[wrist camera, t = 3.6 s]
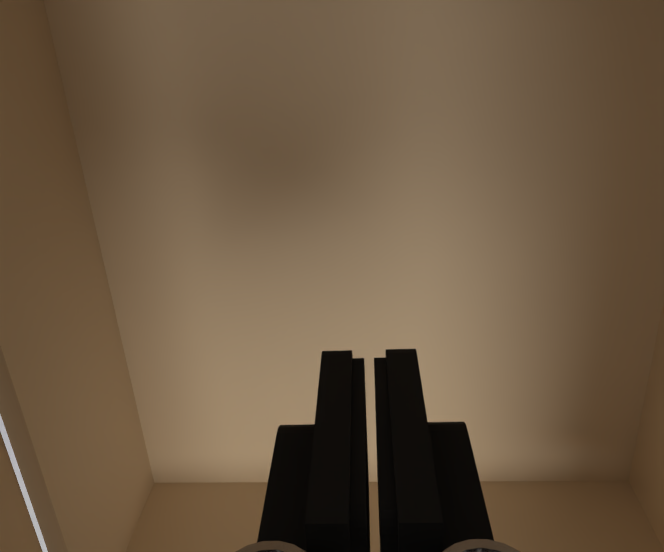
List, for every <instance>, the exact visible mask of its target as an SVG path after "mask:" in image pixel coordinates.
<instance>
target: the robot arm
mask: <svg viewBox="0 0 664 552" xmlns="http://www.w3.org/2000/svg"><path fill="white" fill-rule="evenodd" d="M385 355H386V357H384V358H374V377H375V411H376V445H377V479H378V507H379V534H380V552H520V551H519V550H517V549H515V548H513V547H511V546H509V545H507V544H505V543H501V542H497V541H494V538H493V533H492V529H491V525H490V521H489V517H488V513H487V509H486V504H485V500H484V496H483V492H482V488H481V484H480V479H479V475H478V471H477V467H476V463H475V459H474V455H473V450H472V446H471V442H470V438H469V434H468V430H467V427H466V424H465V422H427V415H426V409H425V402H424V396H423V390H422V383H421V377H420V370H419V364H418V357H417V351H416V349H386V354H385ZM236 552H370V511H369V472H368V445H367V418H366V391H365V365H364V358H353V355H352V350H342V351H322V354H321V364H320V374H319V384H318V395H317V405H316V415H315V424H306V425H279V427H278V430H277V434H276V440H275V445H274V451H273V456H272V462H271V467H270V473H269V478H268V484H267V490H266V495H265V501H264V506H263V512H262V517H261V523H260V528H259V534H258V539H257V543H254V544H250V545H247V546H245V547H243V548H241V549H239V550H238V551H236Z"/></svg>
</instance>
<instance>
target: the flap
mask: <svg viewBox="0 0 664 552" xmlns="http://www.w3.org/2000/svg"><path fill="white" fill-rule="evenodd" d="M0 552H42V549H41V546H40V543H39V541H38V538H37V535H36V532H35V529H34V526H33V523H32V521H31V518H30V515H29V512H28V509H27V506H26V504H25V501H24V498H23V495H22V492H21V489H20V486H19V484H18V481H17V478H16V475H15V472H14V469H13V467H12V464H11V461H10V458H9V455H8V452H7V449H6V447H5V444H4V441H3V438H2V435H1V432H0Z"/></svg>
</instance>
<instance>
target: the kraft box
mask: <svg viewBox="0 0 664 552" xmlns="http://www.w3.org/2000/svg"><path fill="white" fill-rule="evenodd" d="M386 349H416V351H417V357H418V364H419V370H420V377H421V383H422V390H423V396H424V402H425V409H426V415H427V422H465V424H466V427H467V430H468V434H469V438H470V442H471V446H472V450H473V455H474V459H475V463H476V467H477V471H478V475H479V479H480V484H481V488H482V492H483V496H484V500H485V504H486V509H487V513H488V517H489V521H490V525H491V529H492V533H493V538H494V541H497V542H501V543H505V544H507V545H509V546H511V547H513V548H515V549H517V550H519V551H520V552H664V0H0V414H1V417H2V419H3V422H4V425H5V428H6V431H7V434H8V437H9V440H10V443H11V445H12V448H13V451H14V454H15V457H16V460H17V463H18V466H19V469H20V472H21V474H22V477H23V480H24V483H25V486H26V489H27V492H28V495H29V498H30V500H31V503H32V506H33V509H34V512H35V515H36V518H37V521H38V524H39V526H40V529H41V532H42V535H43V538H44V541H45V544H46V547H47V550H48V552H236V551H238V550H239V549H241V548H243V547H245V546H247V545H250V544H254V543H257V539H258V534H259V528H260V523H261V517H262V512H263V506H264V501H265V495H266V490H267V484H268V478H269V473H270V467H271V462H272V456H273V451H274V445H275V440H276V434H277V430H278V427H279V425H306V424H315V415H316V405H317V395H318V384H319V374H320V364H321V354H322V351H342V350H352V355H353V358H364V365H365V391H366V418H367V445H368V472H369V511H370V552H380V534H379V507H378V479H377V445H376V411H375V377H374V358H384V357H386V355H385V354H386Z"/></svg>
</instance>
